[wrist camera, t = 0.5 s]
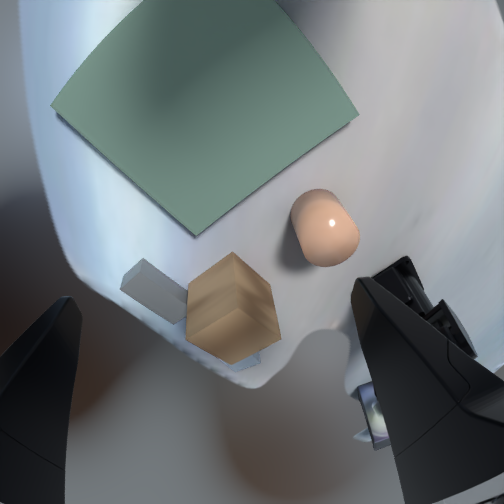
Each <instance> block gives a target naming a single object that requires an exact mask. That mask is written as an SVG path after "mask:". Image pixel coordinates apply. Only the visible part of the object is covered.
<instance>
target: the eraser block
mask: <svg viewBox="0 0 504 504" xmlns="http://www.w3.org/2000/svg"><path fill="white" fill-rule="evenodd" d="M216 358H217V357H216ZM218 359H219V358H218ZM219 360H220V361H222V362H223V363H224V364H225V365H227V366H228V367H229V368H230V369H232V370H233V371H234V372H237V371H240V370H243V369H246V368H248V367H251V366H254V365H257V364H260V363H261V361H260V354H259V351H258V352H256V353H254V354H252V355H251V356H249V357H247V358H245V359H243V360H241V361H239V362H237V363H235V364H233V365H230V364H228V363H226V362H224V361H223V360H221V359H219Z"/></svg>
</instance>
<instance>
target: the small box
mask: <svg viewBox="0 0 504 504" xmlns="http://www.w3.org/2000/svg"><path fill="white" fill-rule="evenodd" d="M358 395H359V401H360V402H361V405H362V409H363V412H364V415H365V419H366V422H367V425H368V429H369V432H370V436H371V439H372V443H373V448H374V450H378V449H381V448H384V447H386V446H389V445H391V443H390V439H389V436H388V432H387V429H386V425H385V422H384V418H383V415H382V411H381V408H380V404H379V402H378V401H377V399H376V396H375V394H374V388H373V382H369V383H366V384H363V385H360V386H358Z"/></svg>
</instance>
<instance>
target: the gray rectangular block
mask: <svg viewBox="0 0 504 504" xmlns="http://www.w3.org/2000/svg"><path fill="white" fill-rule="evenodd" d="M120 290H121V291H123V292H124V293H126V294H127V295H129V296H130V297H132V298H133V299H135V300H136V301H138V302H139V303H141V304H142V305H144V306H145V307H147V308H148V309H150V310H151V311H153V312H154V313H156V314H158V315H159V316H161V317H162V318H164V319H165V320H167V321H169V322H170V323H172V324H173V325H174V324H175V323H177V322H178V321H180V320H181V319H183V318H184V317H186V316H187V300H188V291H187V290H186V289H184V288H183V287H181V286H180V285H179V284H177V283H176V282H175V281H173V280H172V279H170V278H169V277H168V276H166V275H165V274H164V273H162V272H161V271H160V270H158V269H157V268H156V267H154V266H153V265H152V264H150V263H149V262H148V261H146V260H145V259H144V258H142V259H141V260H140V261H139V262H138V263H137V264H136V265H135V266H134V267H133V268H131V269H130V270H129V271H128V272H127V273H126V274H125V275H124V276H123V280H122V283H121V287H120Z"/></svg>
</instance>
